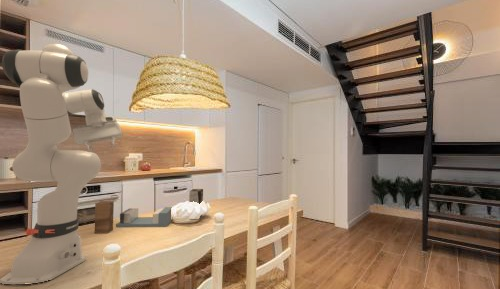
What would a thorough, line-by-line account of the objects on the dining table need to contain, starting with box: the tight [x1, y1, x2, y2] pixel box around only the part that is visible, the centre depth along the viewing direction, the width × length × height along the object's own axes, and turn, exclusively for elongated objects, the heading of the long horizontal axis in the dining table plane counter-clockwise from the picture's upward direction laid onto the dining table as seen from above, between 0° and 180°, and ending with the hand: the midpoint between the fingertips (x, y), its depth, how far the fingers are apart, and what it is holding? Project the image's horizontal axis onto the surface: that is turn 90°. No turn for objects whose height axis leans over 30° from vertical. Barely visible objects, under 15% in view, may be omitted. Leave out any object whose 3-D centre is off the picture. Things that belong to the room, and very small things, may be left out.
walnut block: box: [94, 200, 115, 234], centre depth 118 cm, size 5×6×14 cm
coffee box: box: [188, 188, 204, 204], centre depth 145 cm, size 9×6×16 cm
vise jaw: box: [119, 207, 139, 223], centre depth 132 cm, size 11×5×5 cm, turn 4°
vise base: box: [115, 206, 173, 228], centre depth 132 cm, size 13×25×7 cm, turn 94°
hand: (101, 148), depth 119 cm, fingers open, 8 cm apart
